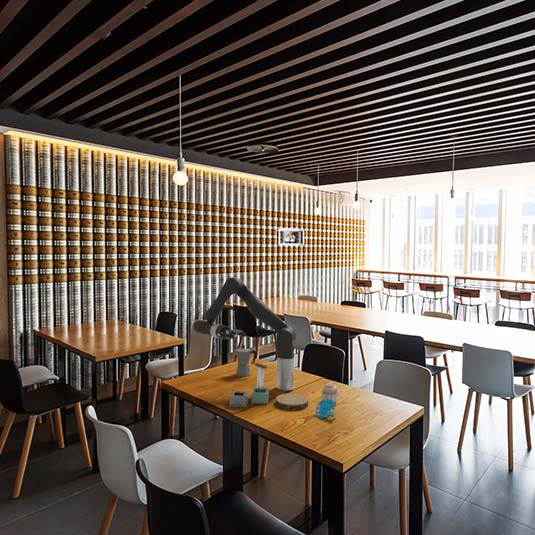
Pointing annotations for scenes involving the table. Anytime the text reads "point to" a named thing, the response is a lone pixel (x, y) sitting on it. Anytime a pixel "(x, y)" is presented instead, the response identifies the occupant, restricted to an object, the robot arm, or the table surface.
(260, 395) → the key holder
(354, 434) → the table surface
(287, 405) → the wood slice
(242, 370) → the coffeepot
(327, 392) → the cupcake
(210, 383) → the table surface
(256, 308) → the robot arm
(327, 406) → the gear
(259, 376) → the chuck key
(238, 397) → the chuck block
